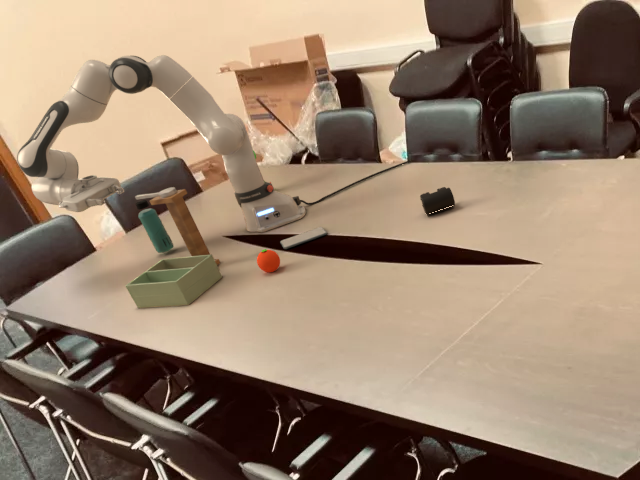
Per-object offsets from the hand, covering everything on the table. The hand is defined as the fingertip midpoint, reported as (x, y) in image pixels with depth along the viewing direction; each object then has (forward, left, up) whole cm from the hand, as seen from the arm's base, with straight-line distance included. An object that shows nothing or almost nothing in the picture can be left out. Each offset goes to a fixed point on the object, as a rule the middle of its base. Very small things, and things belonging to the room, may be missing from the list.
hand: (112, 196), depth 234 cm
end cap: (-100, +26, -28) cm, 107 cm away
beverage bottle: (-2, -16, -28) cm, 32 cm away
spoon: (-16, +11, -2) cm, 19 cm away
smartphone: (-54, +14, -28) cm, 62 cm away
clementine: (-44, +34, -28) cm, 62 cm away
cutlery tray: (-14, +29, -28) cm, 42 cm away
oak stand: (-20, +13, -28) cm, 36 cm away
